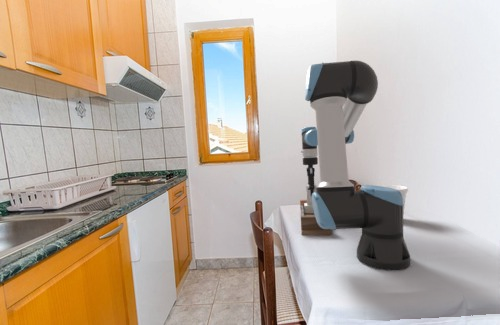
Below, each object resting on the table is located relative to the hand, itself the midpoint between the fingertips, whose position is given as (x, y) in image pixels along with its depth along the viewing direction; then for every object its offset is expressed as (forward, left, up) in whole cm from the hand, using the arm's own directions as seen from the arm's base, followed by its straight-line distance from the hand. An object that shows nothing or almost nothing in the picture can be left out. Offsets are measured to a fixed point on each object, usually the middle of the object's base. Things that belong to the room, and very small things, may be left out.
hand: (311, 200), depth 133 cm
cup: (-8, -36, -8) cm, 38 cm away
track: (-11, 0, -8) cm, 14 cm away
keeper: (0, 0, -6) cm, 6 cm away
